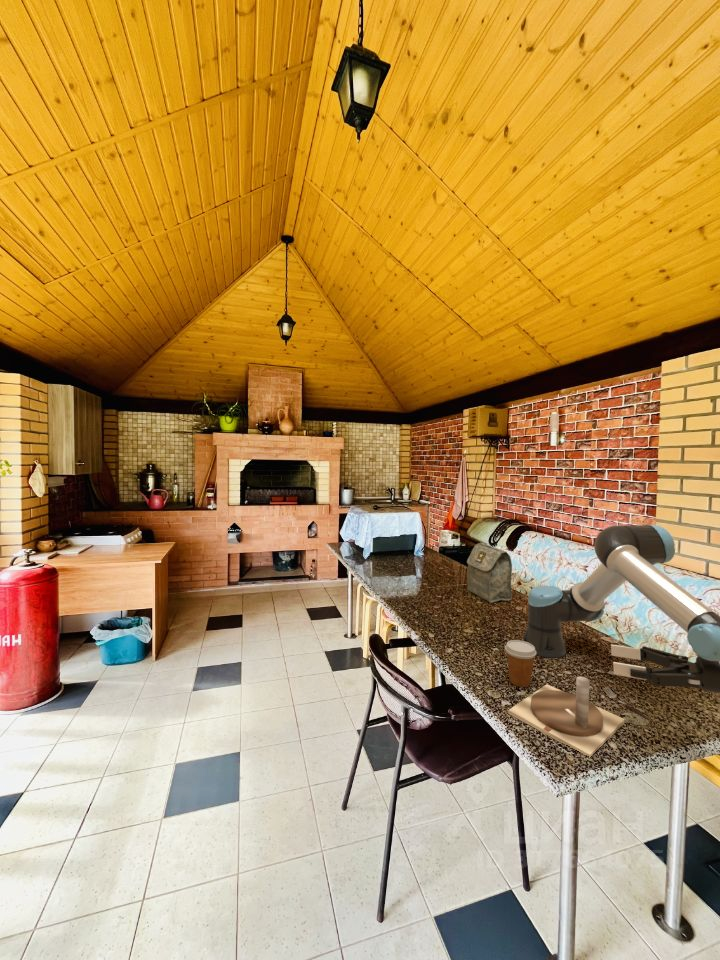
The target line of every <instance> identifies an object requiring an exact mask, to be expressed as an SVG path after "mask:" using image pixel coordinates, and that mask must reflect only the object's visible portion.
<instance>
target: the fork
mask: <svg viewBox="0 0 720 960" xmlns="http://www.w3.org/2000/svg"><path fill="white" fill-rule="evenodd" d="M602 689H603V691H604V692H605V693H606V695H607V696H608V698H609V699H614V698H617V695H616V693H614V691H612V690H611V688H610V687H609V686H606V687H602ZM617 702H618V703H621V704H623V705H624V706H626V708H628V709H629V710H630V711H632V712H634V713H635V714H637V715H638V716H639V717H642V718H644V719H645V720H646V721H649V720H650V721H651V722H650V721H649V722H650V723H652V722H653V723H652V724H654V723H655V722H654V721H653V720H652V719H650V718H649V717H647V716H646V715H645V714H643V713H642V712H641V711H639V710H638V709H636V708H634V707H632V706H630V705H628V704H627V703H625V702H623V701H622V700H617Z"/></svg>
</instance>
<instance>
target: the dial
mask: <svg viewBox="0 0 720 960" xmlns="http://www.w3.org/2000/svg"><path fill="white" fill-rule="evenodd" d="M590 683H591V682H590V679H588V678H587V677H585V676H577V677H576V681H575V684H576V687H575V693H571V692H569V691H567V692H566V691H563V690H561V691H557V690H544V691H540V692H537V693H535V694H534V695H533V696H532V698H531V709H532V711H533V713H534V715H535V716H536V717H537V718H538V719H539V720H541V721H542V722H543V723H545V724H546V725H548V726H550V727H552V728H554V729H556V730H558V731H561V732H564V733H568V734H573V735H583V736H584V735H592V734H596V733H598V732H599V731H600V730H601V729H602V727H603V716H602V714H601V712H600V711H599V710H598V708H597V707H598V706H597V707H595V706H596V705H595V704H594V703H592V702H590Z"/></svg>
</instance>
